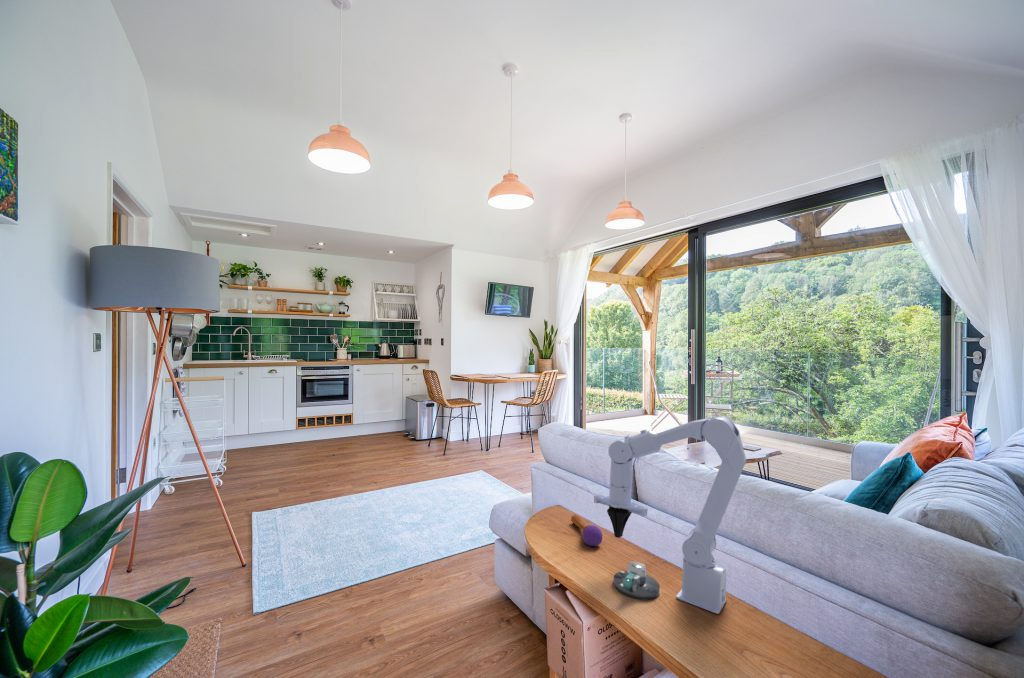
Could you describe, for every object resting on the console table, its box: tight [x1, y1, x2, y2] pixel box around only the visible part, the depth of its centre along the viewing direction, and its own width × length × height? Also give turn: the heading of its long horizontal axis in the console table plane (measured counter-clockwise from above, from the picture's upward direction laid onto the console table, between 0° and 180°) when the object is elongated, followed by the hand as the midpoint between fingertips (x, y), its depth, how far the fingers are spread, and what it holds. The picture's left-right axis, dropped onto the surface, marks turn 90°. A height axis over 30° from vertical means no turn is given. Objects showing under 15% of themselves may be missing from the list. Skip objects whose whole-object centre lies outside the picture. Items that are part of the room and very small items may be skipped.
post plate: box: [613, 570, 661, 601], centre depth 106 cm, size 11×11×4 cm
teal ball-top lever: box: [623, 560, 647, 590], centre depth 104 cm, size 10×4×4 cm, turn 146°
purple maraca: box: [570, 514, 603, 547], centre depth 137 cm, size 6×6×20 cm
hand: (618, 536), depth 114 cm, fingers closed
